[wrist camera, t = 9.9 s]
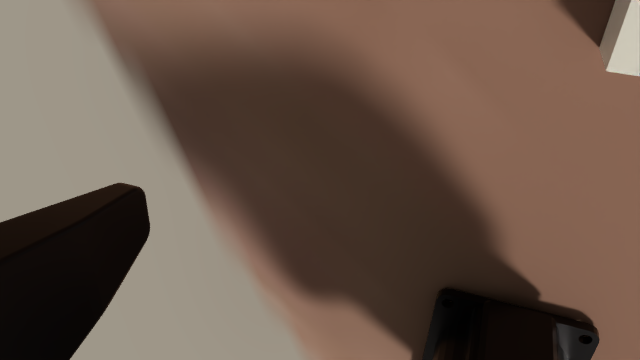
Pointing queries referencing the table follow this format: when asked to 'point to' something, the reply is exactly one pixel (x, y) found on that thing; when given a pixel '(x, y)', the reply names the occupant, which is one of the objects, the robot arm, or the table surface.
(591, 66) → the table surface
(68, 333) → the robot arm
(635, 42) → the tray
